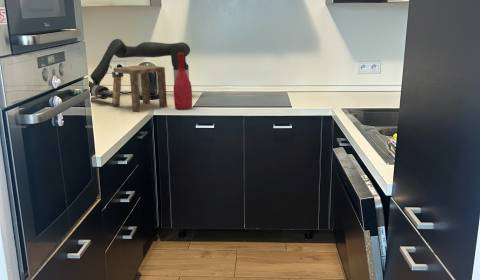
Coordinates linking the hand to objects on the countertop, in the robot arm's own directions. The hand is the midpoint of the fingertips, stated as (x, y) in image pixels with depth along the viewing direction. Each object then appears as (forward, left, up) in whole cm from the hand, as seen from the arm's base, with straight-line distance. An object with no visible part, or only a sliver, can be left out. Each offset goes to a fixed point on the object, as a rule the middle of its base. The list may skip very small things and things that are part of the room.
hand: (114, 96), depth 270 cm
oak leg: (0, 0, -5) cm, 5 cm away
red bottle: (-22, +34, -6) cm, 41 cm away
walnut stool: (-8, +14, -6) cm, 17 cm away
